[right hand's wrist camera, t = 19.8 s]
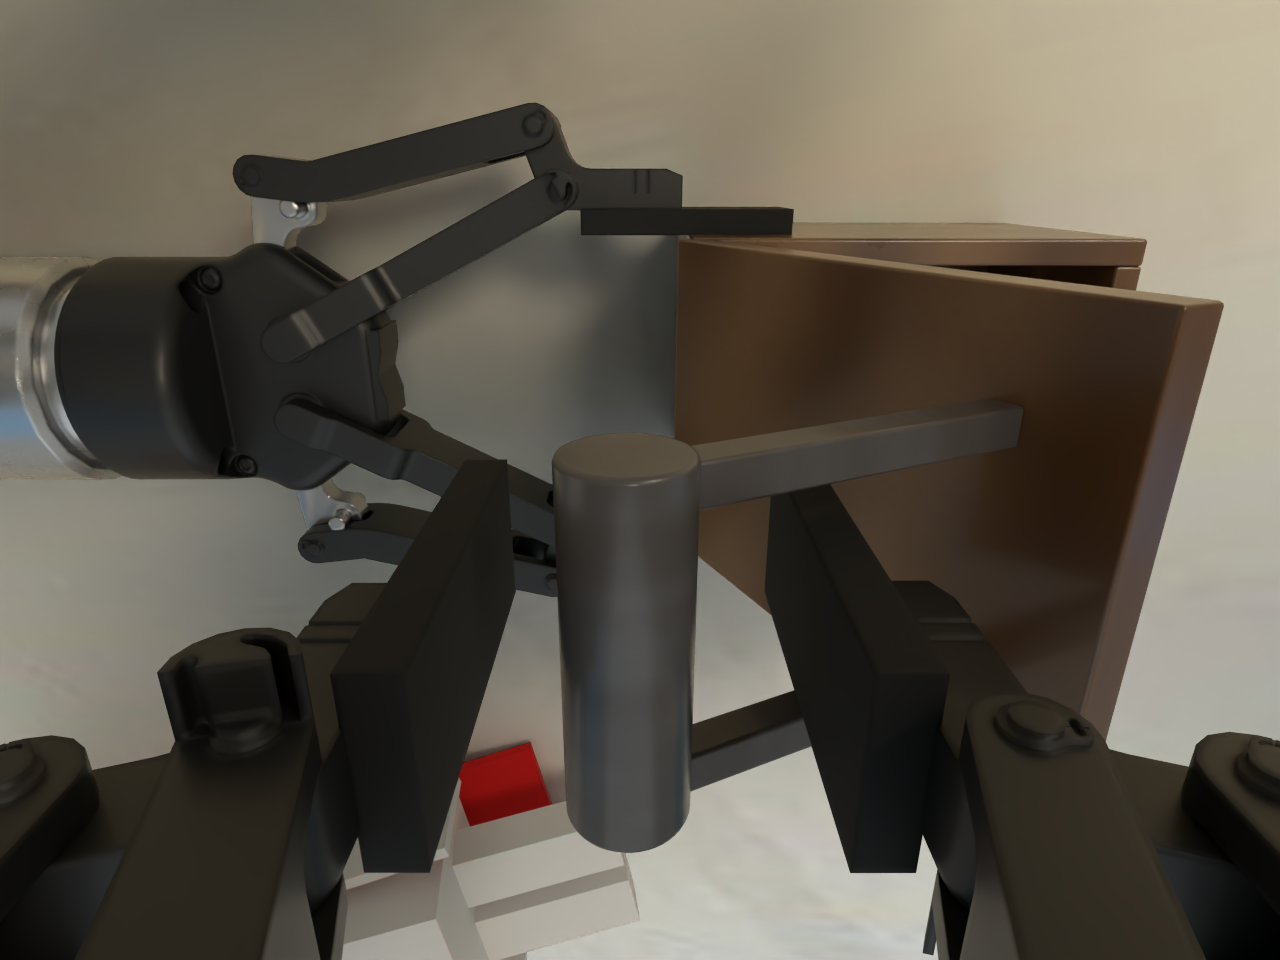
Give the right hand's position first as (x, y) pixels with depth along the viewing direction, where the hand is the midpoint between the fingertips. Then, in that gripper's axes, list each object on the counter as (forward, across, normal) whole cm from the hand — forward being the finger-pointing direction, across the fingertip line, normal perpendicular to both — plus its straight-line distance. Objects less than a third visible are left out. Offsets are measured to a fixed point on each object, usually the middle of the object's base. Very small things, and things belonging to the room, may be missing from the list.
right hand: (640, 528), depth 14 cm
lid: (+4, +5, 0) cm, 6 cm away
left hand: (+13, +5, 0) cm, 14 cm away
